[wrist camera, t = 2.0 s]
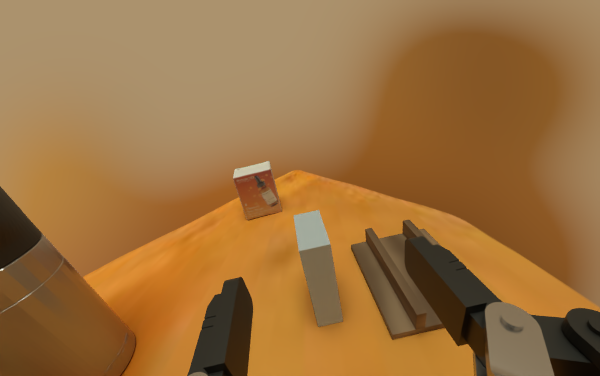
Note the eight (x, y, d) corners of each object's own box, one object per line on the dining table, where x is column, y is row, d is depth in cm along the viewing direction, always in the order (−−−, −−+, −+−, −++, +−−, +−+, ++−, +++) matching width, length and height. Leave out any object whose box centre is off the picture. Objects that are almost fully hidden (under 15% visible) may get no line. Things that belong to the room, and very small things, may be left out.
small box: (247, 221, 49) (231, 178, 44) (247, 208, 54) (233, 168, 49) (282, 211, 50) (270, 168, 45) (279, 199, 55) (269, 160, 50)
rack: (392, 339, 24) (392, 320, 22) (351, 248, 36) (349, 232, 35) (502, 314, 24) (509, 293, 22) (423, 232, 36) (424, 216, 35)
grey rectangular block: (318, 326, 26) (298, 251, 21) (310, 284, 32) (293, 215, 26) (343, 321, 26) (330, 244, 21) (331, 280, 32) (318, 209, 26)
